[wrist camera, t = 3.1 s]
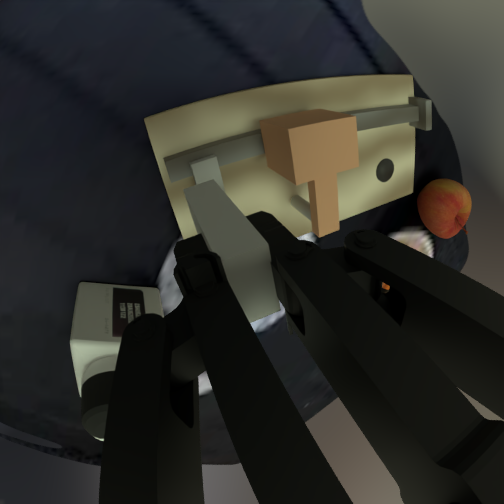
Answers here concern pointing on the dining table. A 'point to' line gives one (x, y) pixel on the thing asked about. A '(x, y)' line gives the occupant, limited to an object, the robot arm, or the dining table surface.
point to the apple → (444, 207)
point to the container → (103, 341)
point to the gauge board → (253, 153)
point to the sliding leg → (313, 159)
